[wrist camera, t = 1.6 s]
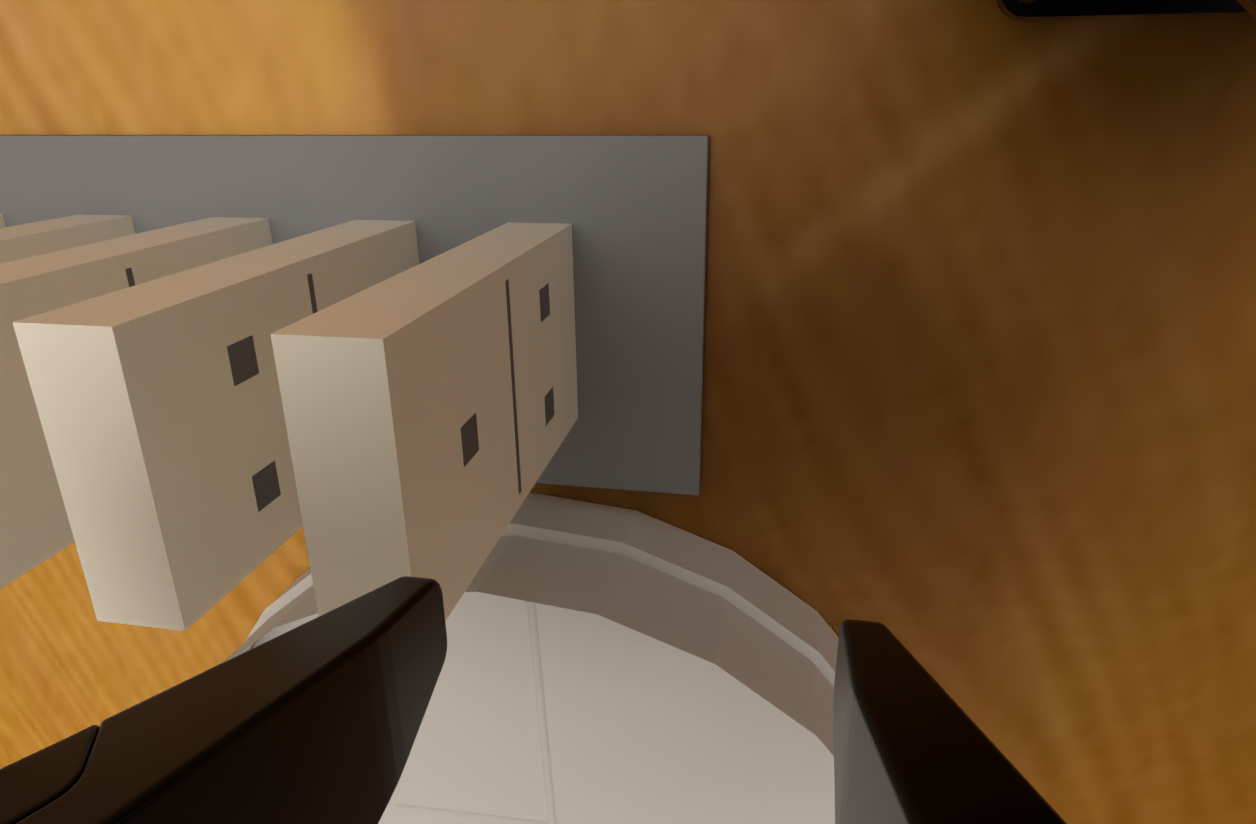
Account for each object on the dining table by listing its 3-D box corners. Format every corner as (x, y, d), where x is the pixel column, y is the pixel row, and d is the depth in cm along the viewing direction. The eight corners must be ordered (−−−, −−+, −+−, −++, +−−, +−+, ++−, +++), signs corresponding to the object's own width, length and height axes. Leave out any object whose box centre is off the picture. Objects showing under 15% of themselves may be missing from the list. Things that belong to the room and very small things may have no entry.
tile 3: (268, 218, 21) (-128, 316, 12) (298, 400, 23) (-27, 606, 14) (212, 216, 22) (-218, 311, 12) (246, 397, 23) (-108, 597, 14)
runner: (708, 135, 19) (707, 135, 19) (699, 490, 22) (698, 495, 22) (-66, 135, 22) (-77, 135, 22) (24, 440, 26) (16, 444, 25)
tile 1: (572, 223, 20) (384, 339, 11) (578, 417, 22) (422, 658, 13) (507, 222, 20) (270, 334, 11) (519, 414, 22) (323, 647, 13)
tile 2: (415, 220, 21) (112, 326, 11) (434, 409, 22) (186, 631, 13) (355, 219, 21) (12, 321, 12) (378, 405, 23) (96, 621, 13)
